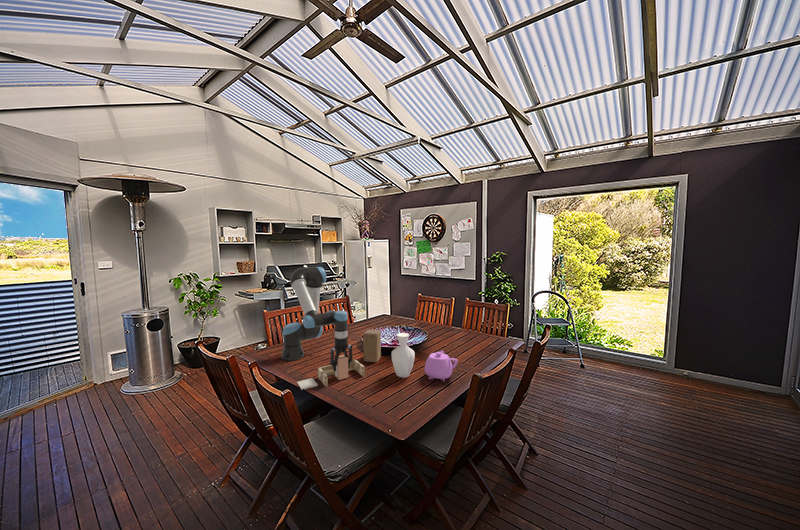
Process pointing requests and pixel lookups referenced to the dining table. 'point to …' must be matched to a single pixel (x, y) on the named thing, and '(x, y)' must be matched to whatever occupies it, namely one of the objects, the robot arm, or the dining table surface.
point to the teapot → (439, 365)
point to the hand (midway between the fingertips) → (341, 374)
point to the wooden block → (372, 345)
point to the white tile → (307, 383)
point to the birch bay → (328, 370)
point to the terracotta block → (342, 367)
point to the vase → (403, 356)
